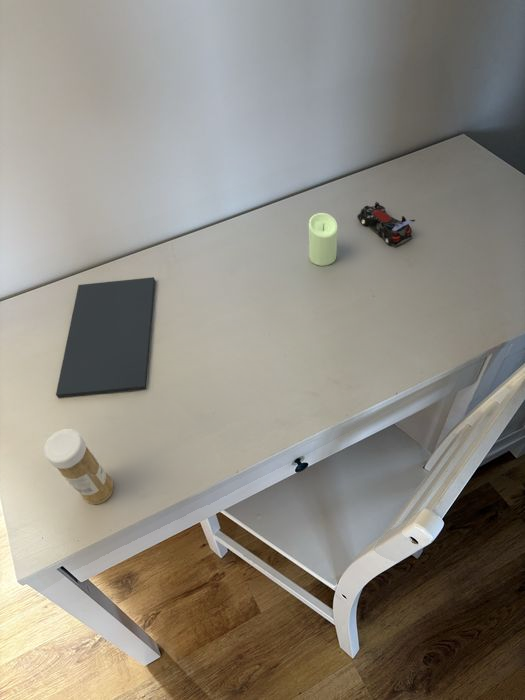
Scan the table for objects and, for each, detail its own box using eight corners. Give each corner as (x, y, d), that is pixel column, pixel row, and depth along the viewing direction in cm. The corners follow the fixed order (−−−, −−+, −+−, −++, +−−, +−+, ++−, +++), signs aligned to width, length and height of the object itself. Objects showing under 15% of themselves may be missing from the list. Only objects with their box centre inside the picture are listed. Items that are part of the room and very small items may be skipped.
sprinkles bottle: (120, 480, 75) (88, 434, 64) (102, 510, 72) (65, 467, 62) (93, 469, 76) (57, 422, 65) (75, 498, 74) (34, 454, 63)
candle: (341, 259, 98) (343, 224, 92) (318, 269, 97) (318, 234, 90) (326, 244, 101) (327, 208, 94) (304, 254, 100) (303, 218, 93)
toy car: (391, 250, 98) (393, 233, 95) (349, 217, 105) (350, 200, 102) (416, 237, 100) (419, 219, 97) (373, 205, 107) (375, 188, 103)
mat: (146, 389, 84) (144, 386, 83) (58, 398, 84) (55, 394, 83) (155, 280, 98) (154, 277, 98) (80, 288, 99) (78, 284, 98)
